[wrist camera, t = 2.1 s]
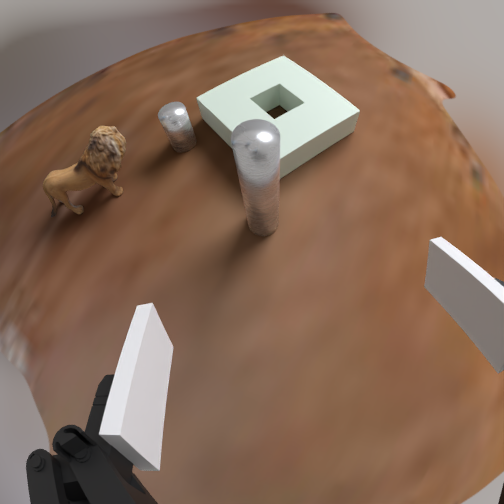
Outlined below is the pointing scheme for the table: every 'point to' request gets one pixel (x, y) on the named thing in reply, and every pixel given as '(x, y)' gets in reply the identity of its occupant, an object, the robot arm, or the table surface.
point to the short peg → (177, 126)
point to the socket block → (291, 99)
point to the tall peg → (258, 172)
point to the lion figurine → (89, 168)
